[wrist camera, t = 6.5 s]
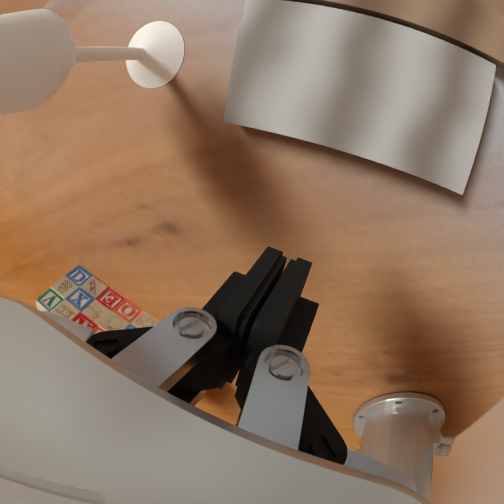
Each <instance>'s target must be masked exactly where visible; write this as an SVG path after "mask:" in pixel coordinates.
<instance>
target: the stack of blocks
mask: <svg viewBox="0 0 504 504" xmlns="http://www.w3.org/2000/svg"><path fill="white" fill-rule="evenodd" d="M36 304H37V309H38V310H39V311H41V312H42V311H48V312H52V313H54V314H57V315H59V316H62V317H64V318H66V319H69V320H71V321H74V322H76V323H79V324H82V325H84V326H87V327H89V328H92V329H94V333H98V332H103V331H110V330H122V329H132V328H142V327H152V326H155V325H157V324H158V323H159V322H160V321H159V320H157V319H156V318H154V317H153V316H151V315H150V314H148V313H147V312H145V311H144V310H141V309H140V308H138V307H137V306H135V305H134V304H132V303H131V302H129V301H128V300H126V299H124V298H123V297H122V296H120V295H119V294H117V293H116V292H114V291H113V290H112V289H110V288H108V286H106V285H105V284H104V283H102V282H101V281H99V280H98V279H97V278H95V277H94V276H92V275H91V274H90V273H89V272H87V271H86V270H85V269H83V268H82V267H81V266H77V267H76V268H75V269H73V270H72V271H71V272H69V273H68V274H66V275H65V276H64V277H62V278H61V279H60V280H58V281H57V282H56V283H55V284H53V285H52V286H51V287H50V288H49V289H48V290H47V291H46V292H44V293H43V294H42V295H41V296H39V297H38V298H37V299H36Z"/></svg>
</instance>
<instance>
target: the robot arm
mask: <svg viewBox="0 0 504 504" xmlns="http://www.w3.org/2000/svg"><path fill="white" fill-rule="evenodd" d="M282 254H283V252H282V251H279V250H276V249H274V248H271V247H267V248H266V250H265V251H264V252H263V254H262V255H261V256H260V258H259V259H258V260H257V261H256V263H255V264H254V265H253V267H252V268H251V269H250V270H249V272H248V273H247V274H246V275H243V274H241V273H238V272H234V273H232V275H231V276H230V277H229V278H228V279H227V280H226V282H225V283H224V284H223V285H222V286H221V287H220V289H219V290H218V291H217V292H216V293H215V294H214V296H213V297H212V298H211V299H210V300H209V301H208V303H207V304H206V305H205V306H204V307H203V309H198V308H193V307H186V308H181V309H178V310H176V311H174V312H173V313H171V314H170V315H169V316H167V317H166V318H165V319H163V320H162V321H161V322H159V323H158V324H157V325H155V326H152V327H142V328H132V329H122V330H110V331H103V332H98V333H94V329H92V328H89V327H87V326H84V325H82V324H79V323H76V322H74V321H71V320H69V319H66V318H64V317H62V316H59V315H57V314H54V313H52V312H48V311H42V312H41V311H39V310H37V309H36V308H34V307H32V306H30V305H28V304H26V303H23V302H21V301H19V300H15V299H12V298H8V297H3V296H0V504H431V503H430V502H429V499H430V489H431V480H432V465H433V454H435V455H440V456H447V455H448V454H449V453H450V451H451V445H452V444H453V442H454V436H450V435H442V433H440V429H441V428H442V426H443V424H444V421H445V410H444V407H443V405H442V404H441V403H440V402H439V401H438V400H436V399H435V398H433V397H431V396H428V395H425V394H420V393H412V392H401V393H392V394H387V395H383V396H380V397H377V398H374V399H372V400H370V401H368V402H366V403H365V404H363V405H362V406H360V408H359V409H358V410H357V411H356V413H355V415H354V419H353V429H354V431H355V432H356V434H357V435H358V436H359V437H361V438H362V439H361V445H360V450H359V451H358V450H357V451H355V452H353V451H351V450H349V449H348V448H347V446H346V444H345V442H344V440H343V438H342V437H341V435H340V434H339V432H338V431H337V429H336V428H335V426H334V425H333V423H332V422H331V420H330V419H329V417H328V415H327V414H326V412H325V411H324V409H323V408H322V406H321V405H320V403H319V402H318V400H317V398H316V397H315V395H314V394H313V392H312V391H311V389H310V388H309V386H308V380H309V373H310V367H309V363H308V361H307V358H306V357H305V356H304V355H303V354H302V351H303V348H304V345H305V343H306V340H307V337H308V334H309V332H310V329H311V326H312V323H313V320H314V317H315V315H316V312H317V309H318V306H319V304H318V303H315V302H313V301H310V300H308V299H305V298H302V297H300V296H301V293H302V290H303V288H304V285H305V282H306V279H307V276H308V274H309V271H310V268H311V265H312V262H309V261H306V260H304V259H301V258H297V260H296V261H295V260H292V259H291V260H290V261H289V263H288V265H287V267H286V268H285V270H284V266H285V263H286V259H287V257H284V256H282ZM283 270H284V272H283ZM239 370H240V371H239ZM238 371H239V374H238V378H237V381H236V386H238V387H237V390H236V394H235V398H236V400H237V402H238V404H239V406H240V408H241V411H240V414H239V417H238V420H237V423H236V426H235V425H233V424H230V423H228V422H226V421H224V420H222V419H219V418H217V417H215V416H213V415H211V414H209V413H207V412H205V411H202V410H200V409H198V408H196V407H194V406H195V405H196V403H197V402H198V401H199V400H200V399H201V398H202V397H203V396H204V394H205V393H206V390H208V389H213V388H217V387H218V388H220V389H222V387H223V386H224V384H225V382H229V383H232V381H233V380H234V378H235V376H236V375H237V373H238Z"/></svg>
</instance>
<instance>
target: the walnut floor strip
mask: <svg viewBox="0 0 504 504" xmlns="http://www.w3.org/2000/svg"><path fill="white" fill-rule="evenodd" d="M284 1H293V2H301V3H308V4H315V5H321V6H326V7H332V8H337V9H342V10H347V11H351V12H356V13H360V14H364V15H368V16H372V17H376V18H379V19H383V20H386V21H390V22H393V23H396V24H399V25H403V26H406V27H409V28H412V29H415V30H417V31H420V32H423V33H426V34H428V35H431V36H434V37H436V38H439V39H441V40H444V41H446V42H449V43H451V44H453V45H456V46H458V47H460V48H462V49H465V50H467V51H469V52H471V53H473V54H475V55H477V56H479V57H481V58H483V59H485V60H487V61H489V62H491V63H493V64H495V65H496V66H497V67H502V66H504V0H284Z"/></svg>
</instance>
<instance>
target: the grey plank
mask: <svg viewBox="0 0 504 504" xmlns="http://www.w3.org/2000/svg"><path fill="white" fill-rule="evenodd" d="M495 70H496V65H495V64H493V63H491V62H489V61H487V60H485V59H483V58H481V57H479V56H477V55H475V54H473V53H471V52H469V51H467V50H465V49H462V48H460V47H458V46H456V45H453V44H451V43H449V42H446V41H444V40H441V39H439V38H436V37H434V36H431V35H428V34H426V33H423V32H420V31H417V30H415V29H412V28H409V27H406V26H403V25H399V24H396V23H393V22H390V21H386V20H383V19H379V18H376V17H372V16H368V15H364V14H360V13H356V12H351V11H347V10H342V9H337V8H332V7H326V6H321V5H315V4H308V3H301V2H293V1H284V0H245V4H244V9H243V14H242V19H241V24H240V29H239V34H238V39H237V44H236V50H235V55H234V60H233V66H232V71H231V77H230V83H229V88H228V94H227V100H226V106H225V112H224V119H223V122H225V123H231V124H236V125H241V126H245V127H250V128H255V129H259V130H264V131H268V132H273V133H277V134H281V135H285V136H289V137H293V138H297V139H301V140H305V141H308V142H312V143H316V144H319V145H323V146H327V147H330V148H334V149H337V150H340V151H344V152H347V153H350V154H353V155H357V156H360V157H363V158H366V159H369V160H372V161H375V162H378V163H381V164H384V165H387V166H390V167H392V168H395V169H398V170H401V171H404V172H406V173H409V174H412V175H414V176H417V177H420V178H422V179H425V180H427V181H430V182H432V183H435V184H437V185H440V186H442V187H445V188H447V189H449V190H452V191H454V192H456V193H459V194H461V195H463V192H464V189H465V187H466V184H467V181H468V178H469V175H470V172H471V169H472V166H473V162H474V159H475V156H476V153H477V149H478V146H479V142H480V139H481V135H482V131H483V127H484V123H485V119H486V115H487V111H488V107H489V102H490V97H491V92H492V87H493V82H494V76H495Z"/></svg>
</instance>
